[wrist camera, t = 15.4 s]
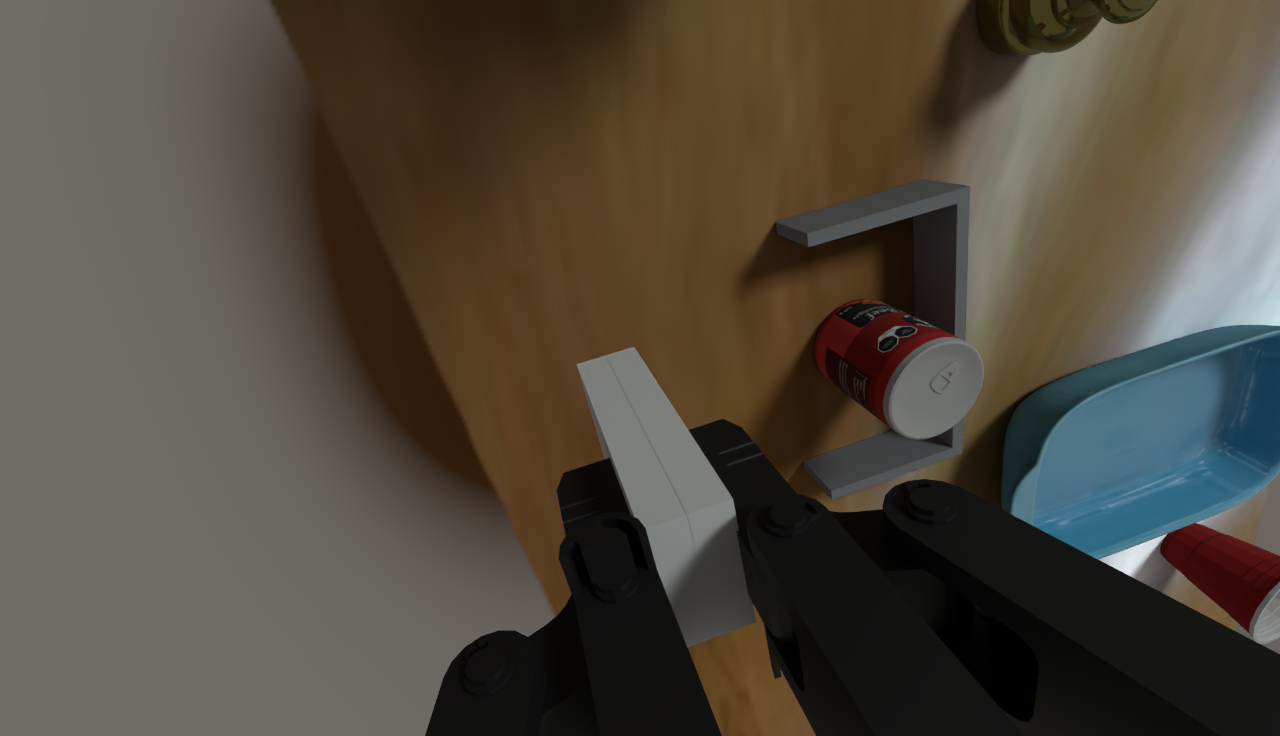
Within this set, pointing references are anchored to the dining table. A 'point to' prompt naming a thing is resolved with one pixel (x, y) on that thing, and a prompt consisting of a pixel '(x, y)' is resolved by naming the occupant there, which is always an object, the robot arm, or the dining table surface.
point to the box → (936, 303)
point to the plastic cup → (1230, 576)
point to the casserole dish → (1147, 440)
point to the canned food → (899, 367)
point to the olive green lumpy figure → (1049, 22)
